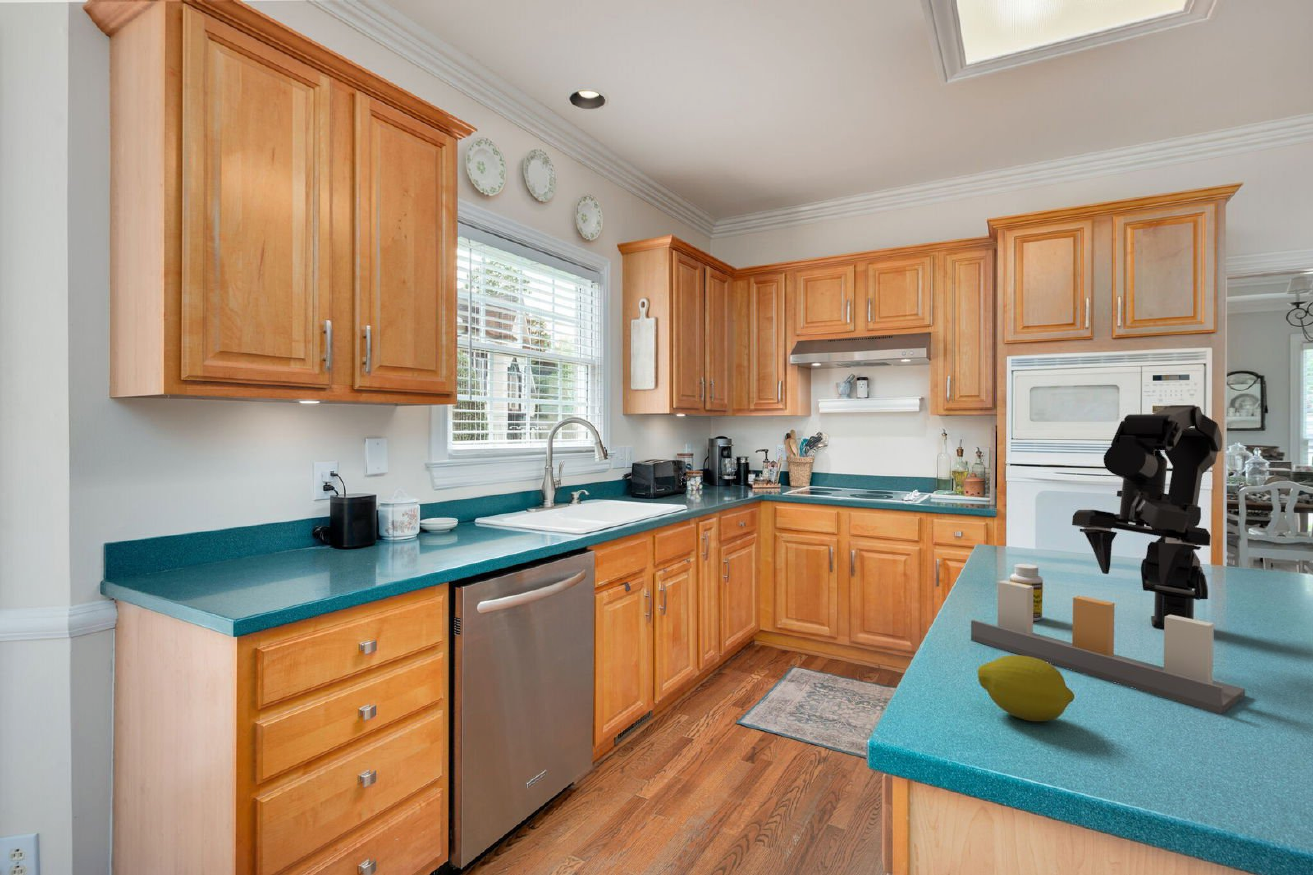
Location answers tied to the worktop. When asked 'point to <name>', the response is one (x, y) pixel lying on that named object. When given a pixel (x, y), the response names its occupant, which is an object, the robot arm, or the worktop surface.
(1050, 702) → the lemon
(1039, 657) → the long grey base rail
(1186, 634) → the key
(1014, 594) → the key
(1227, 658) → the worktop surface
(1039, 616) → the supplement bottle
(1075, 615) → the key middle
